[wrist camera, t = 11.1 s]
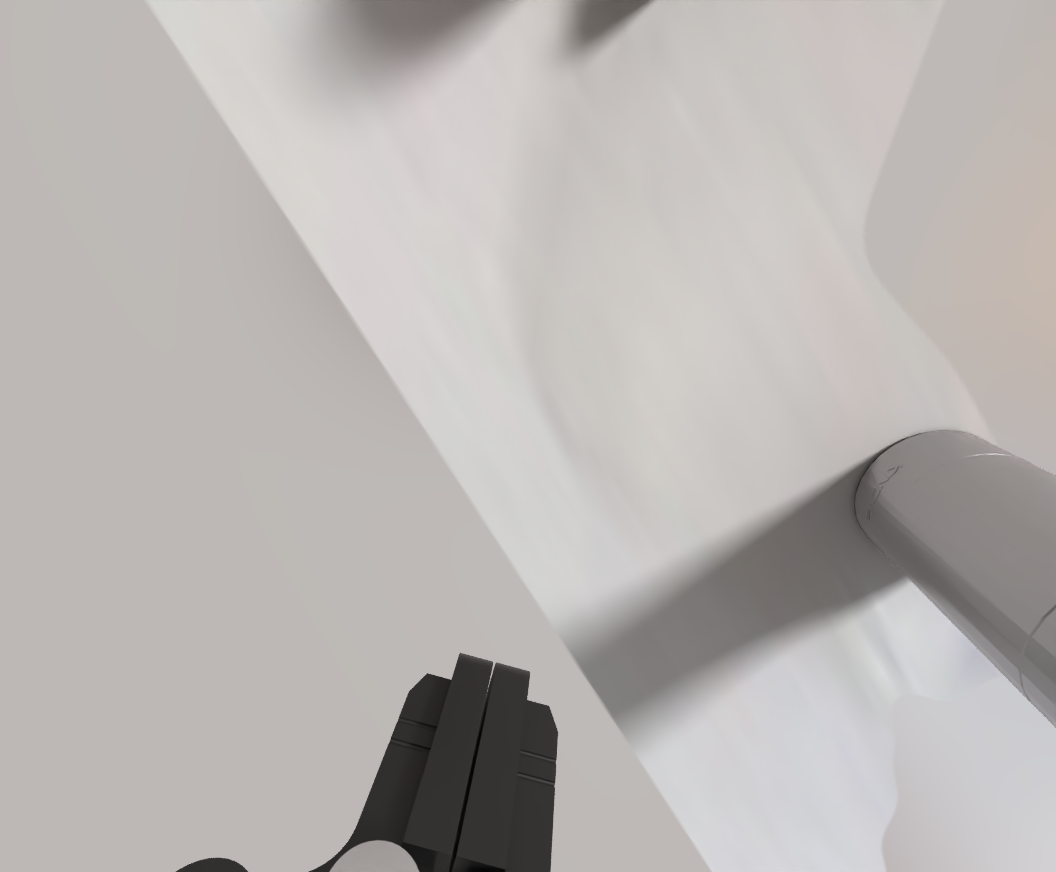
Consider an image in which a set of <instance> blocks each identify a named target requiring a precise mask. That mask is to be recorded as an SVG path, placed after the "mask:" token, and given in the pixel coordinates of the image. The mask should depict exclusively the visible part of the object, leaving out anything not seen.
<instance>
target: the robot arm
mask: <svg viewBox="0 0 1056 872" xmlns="http://www.w3.org/2000/svg"><path fill="white" fill-rule="evenodd" d="M855 510H856V517H857V519H858V522H859V524H860V527H861V528H862V530H863V531H864V532H865V533H866V535H867V536H868V537H869V538H870V539H871V540H872V541H873V542H874V543H875V544H876V545H877V546H878V547H879V548H880V549H881V550H882V551H883V552H884V553H885V554H886V555H887V557H888V558H889V559H890V560H891V561H892V562H893V563H894V564H895V565H896V566H897V567H898V568H899V569H900V570H901V571H902V572H903V573H904V574H905V575H906V576H907V577H908V578H909V579H910V580H911V581H912V582H913V583H914V584H915V585H916V586H917V587H918V588H919V590H920V591H921V592H922V593H923V594H924V595H925V596H926V597H927V598H928V599H929V600H930V601H931V602H932V603H933V604H934V605H935V606H936V607H937V608H938V609H939V610H940V611H941V612H942V613H943V614H944V615H945V616H946V617H947V618H948V619H949V620H950V621H951V622H952V623H953V624H954V625H955V626H956V627H957V628H958V629H959V630H960V631H961V632H962V633H963V634H964V635H965V636H966V637H967V638H968V639H969V640H970V641H971V642H972V643H973V644H974V645H975V646H976V647H977V648H978V650H979V651H980V652H981V653H982V654H983V655H984V656H985V657H986V658H987V659H988V660H989V661H990V662H991V663H992V664H993V665H994V666H995V667H996V668H997V669H998V670H999V671H1000V672H1001V673H1002V674H1003V675H1004V676H1005V677H1006V678H1007V679H1008V680H1009V681H1010V682H1011V683H1012V684H1013V685H1014V686H1015V687H1016V688H1017V689H1018V690H1019V691H1020V692H1021V693H1022V694H1023V695H1024V696H1025V697H1026V698H1027V699H1028V700H1029V701H1030V702H1031V703H1032V704H1033V705H1034V706H1035V707H1036V708H1037V709H1038V710H1039V711H1040V712H1041V713H1042V714H1043V715H1044V716H1045V717H1046V718H1047V719H1048V720H1049V721H1050V722H1051V723H1052V724H1053V725H1054V726H1055V727H1056V476H1055V475H1053V474H1051V473H1049V472H1047V471H1045V470H1043V469H1041V468H1039V467H1037V466H1035V465H1033V464H1031V463H1030V462H1028V461H1025V460H1024V459H1022V458H1020V457H1017V456H1015V455H1013V454H1011V453H1009V452H1007V451H1005V450H1003V449H1001V448H999V447H997V446H995V445H993V444H991V443H989V442H987V441H985V440H983V439H981V438H978V437H976V436H974V435H972V434H968V433H964V432H960V431H948V430H940V431H932V432H925V433H922V434H919V435H916V436H913V437H909V438H907V439H905V440H903V441H901V442H899V443H897V444H895V445H893V446H892V447H891V448H889V449H888V450H887V451H885V452H884V453H883V454H881V455H880V456H879V457H878V458H877V459H876V460H875V461H874V462H873V463H872V464H871V465H870V466H869V468H868V470H867V471H866V473H865V474H864V476H863V477H862V479H861V481H860V484H859V487H858V489H857V492H856V499H855ZM492 666H493V662H492V661H488V660H484V659H481V658H477V657H473V656H470V655H466V654H462V653H460V654H459V657H458V660H457V664H456V667H455V670H454V674H453V677H452V680H450V679H446V678H442V677H439V676H435V675H431V674H428V673H427V674H426V675H425V676H424V677H423V678H422V679H421V680H420V681H419V682H418V683H417V684H416V685H415V686H414V687H413V688H412V689H411V690H410V691H409V693H408V696H407V698H406V701H405V703H404V706H403V708H402V711H401V714H400V716H399V719H398V722H397V724H396V726H395V729H394V732H393V734H392V737H391V740H390V743H389V744H388V747H387V749H386V752H385V755H384V757H383V760H382V762H381V765H380V767H379V770H378V773H377V775H376V778H375V780H374V783H373V785H372V788H371V791H370V793H369V796H368V798H367V801H366V803H365V806H364V809H363V811H362V814H361V816H360V819H359V822H358V824H357V826H356V829H355V830H354V833H353V834H352V836H351V838H350V839H349V841H348V842H347V843H346V845H345V846H344V847H343V848H342V850H341V851H340V852H339V853H338V854H336V855H335V857H333V858H332V859H331V860H329V861H328V862H327V863H325V864H324V865H322V866H320V867H318V868H316V869H314V870H312V871H309V872H550V868H551V849H552V831H553V812H554V795H555V788H554V785H555V776H556V757H557V738H558V731H557V728H556V725H555V722H554V719H553V716H552V713H551V710H550V707H549V706H547V705H543V704H539V703H536V702H532V701H528V700H527V695H528V687H529V678H530V672H529V671H526V670H522V669H518V668H515V667H511V666H507V665H504V664H500V663H496V664H495V667H494V670H493V675H492V678H491V681H490V684H489V680H490V676H491V671H492ZM488 685H489V688H488ZM487 690H488V691H487ZM486 694H487V695H486ZM176 872H248V871H247V870H246V869H245V868H244V867H243V866H242V865H240V864H239V863H237V862H235V861H232V860H230V859H225V858H208V859H204V860H200V861H197V862H194V863H191V864H189V865H187V866H185V867H183V868H181V869H179V870H178V871H176Z"/></svg>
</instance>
